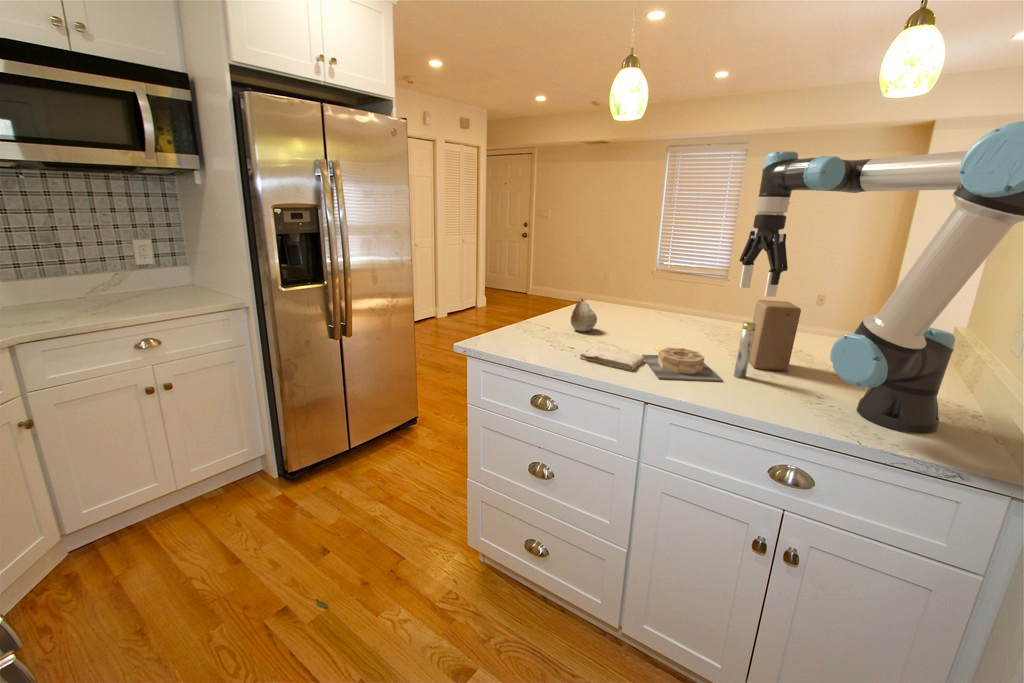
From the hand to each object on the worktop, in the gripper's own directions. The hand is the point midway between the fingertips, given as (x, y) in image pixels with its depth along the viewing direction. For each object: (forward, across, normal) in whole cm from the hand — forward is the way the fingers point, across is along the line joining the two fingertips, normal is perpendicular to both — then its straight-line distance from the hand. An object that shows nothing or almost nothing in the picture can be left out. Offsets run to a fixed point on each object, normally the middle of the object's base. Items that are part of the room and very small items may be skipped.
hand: (756, 291), depth 130 cm
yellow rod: (+24, +18, +19) cm, 36 cm away
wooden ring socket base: (+25, +3, +18) cm, 30 cm away
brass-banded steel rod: (+25, -2, +2) cm, 25 cm away
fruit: (+24, +43, +40) cm, 64 cm away
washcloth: (+25, +9, +37) cm, 46 cm away
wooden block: (+25, +8, -12) cm, 29 cm away
